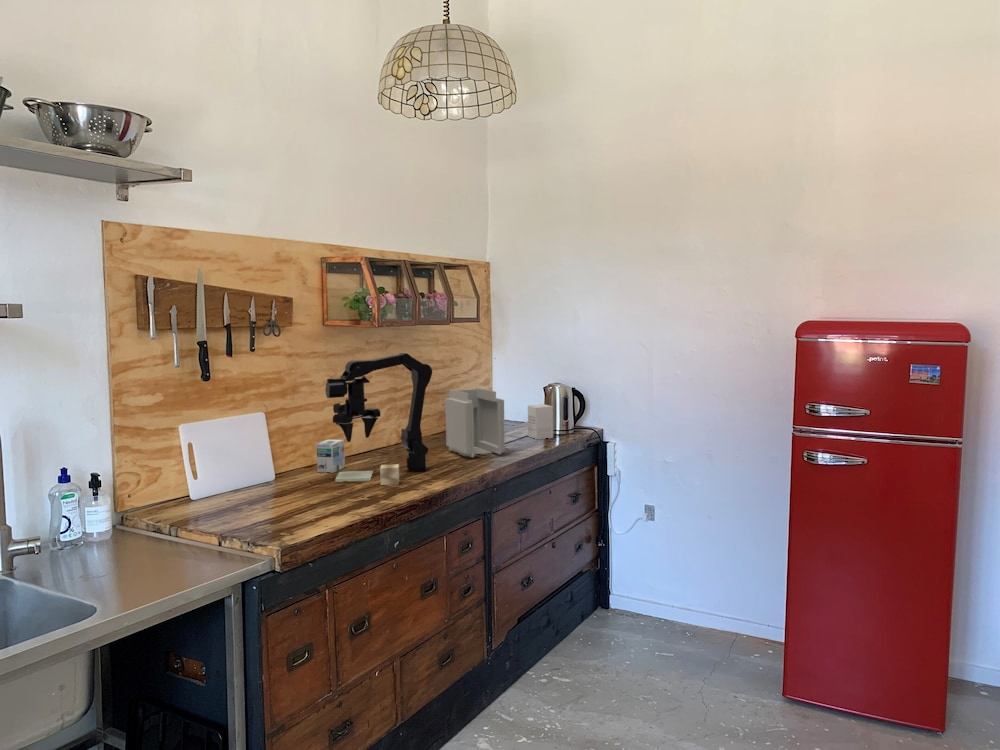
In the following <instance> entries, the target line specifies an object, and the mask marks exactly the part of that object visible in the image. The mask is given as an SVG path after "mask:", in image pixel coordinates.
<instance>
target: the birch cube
mask: <svg viewBox="0 0 1000 750" xmlns="http://www.w3.org/2000/svg"><path fill="white" fill-rule="evenodd" d="M379 473H380V474H379V475H380V486H381V485H387V486H399V485H400V464H397V463H396V464H380V469H379Z"/></svg>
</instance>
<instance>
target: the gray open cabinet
mask: <svg viewBox="0 0 1000 750" xmlns="http://www.w3.org/2000/svg"><path fill="white" fill-rule="evenodd" d="M444 402H445V436H446V437H445V439H446V440H445V443H446V445H445V446H446V447H448V450H449V449H450V450H452V451H454V452H453V453H455V452H457V453H459V454H458V455H460V454H461V455H460V456H462V455H463V456H462V457H471V458H474V457H475V456H477V455H476V454H483V455H487V454H486V453H492V454H493V453H495V454H497V455H501V454H502V453H504V452H506V447H505V445H506V444H505V443H506V441H505V433H506V432H505V399H503V398H497V391H494V390H489V389H484V388H481V387H475V388H473V389H458V390H457V389H456V390H455V389H449V397H445V401H444ZM474 447H478V448H474ZM450 450H449V451H450ZM452 451H451V452H452ZM457 453H456V454H457Z"/></svg>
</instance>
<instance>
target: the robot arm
mask: <svg viewBox="0 0 1000 750" xmlns="http://www.w3.org/2000/svg"><path fill="white" fill-rule="evenodd" d="M401 365H403V367H405V368H406V369H407V370H408V371H409V372H410V373H411V381H412V382H411V383H412V385H413V386H412V394H411V395H412V396H411V401H410V409H409V414H408V421H407V426H406V427H405V428H401V433H400V434H401V435H400V438H399V440H401V445H402V446H403V448H405V450H406V452H407V454H408V456H407V457H406V469H407V471H408V472H424V471H423V470H426V471H427V465H426V464H427V463H426V462H427V460H426V459H427V458H426V455H428V452H429V448H428V447H427V446H426V445H425V444H424V443H423V433H422V429H421V428H422V427H421V423H422V416H423V409H424V402H425V395H426V389H427V387H428V385H429V384H430V382H431V379H432V376H433V375H432V374H433V368H432V367H431V366H430V365H429V364H427V363H422V362H421V361H419V360H418V359H416V358H414V357H413V356H411V355H410V354H409V353H405V352H401V353H398V354H393V355H388V356H384V357H379V358H374V359H369V360H365V359H364V360H361V359H358V360H355V359H354V360H350V361H348V362H346V364H345V368H344V371H343V373H342V374H341V375H340V377H339V378H327V379H326V383H325V390H324V391H325V396H326V398H327V399H336V398H339V399H340V398H345V395H347V398H346V399H345V400H344V404H341V403H339V402H338V403H334V404H333V405H332V406H333V407H332V408H333V409H332V411H333V413H334V415H332V423H333V424H336V425H337V426H339V427H340V428H341V430H342V432H343V435H344V436H345V439H346V441H347V443H351V440H352V436H353V427H354V422H353V420H354V419H361V420H362V422H363V426H364V435H365V438H367V439H369V437H370V435H371V432H372V430H373V428H374V426H375V424H376V422H377V420H379V417H381V410H380V409H379V408H373V407H370V408H369V407H368V408H366V404H365V403H366V402H368V398H365V384H369V383H370V380H369V379H368V378H367V377H366V375H368V374H370V373H372V372H374V371H379V370H383V369H387V368H392V367H397V366H401Z"/></svg>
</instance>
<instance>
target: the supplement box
mask: <svg viewBox="0 0 1000 750" xmlns="http://www.w3.org/2000/svg"><path fill="white" fill-rule="evenodd" d="M553 411H554V407H553V405H548V404H534V405H533V404H532V405H527V434H528V436H529V437H528V436H527V437H528V438H530V437H532V438H531V439H533V438H535V439H534V440H536V439H538V440H546V438H548V439H553V438H554V412H553Z"/></svg>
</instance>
